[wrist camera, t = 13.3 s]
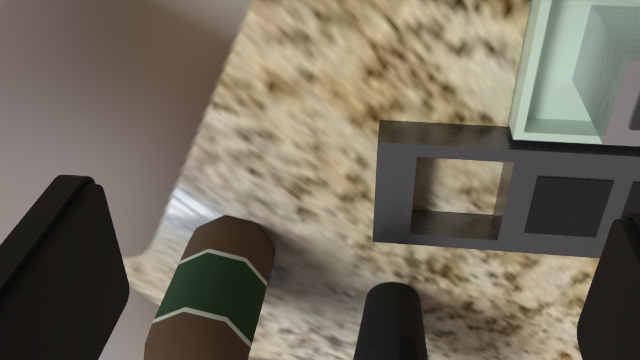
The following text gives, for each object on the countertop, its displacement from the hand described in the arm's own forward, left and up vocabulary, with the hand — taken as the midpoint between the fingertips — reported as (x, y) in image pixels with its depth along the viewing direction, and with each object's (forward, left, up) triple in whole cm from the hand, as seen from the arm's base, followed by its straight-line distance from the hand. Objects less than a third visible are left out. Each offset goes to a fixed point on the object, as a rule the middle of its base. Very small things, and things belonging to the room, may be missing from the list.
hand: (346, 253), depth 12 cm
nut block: (+8, +15, -30) cm, 34 cm away
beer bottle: (+28, -12, -31) cm, 43 cm away
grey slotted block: (+19, +10, -30) cm, 37 cm away
